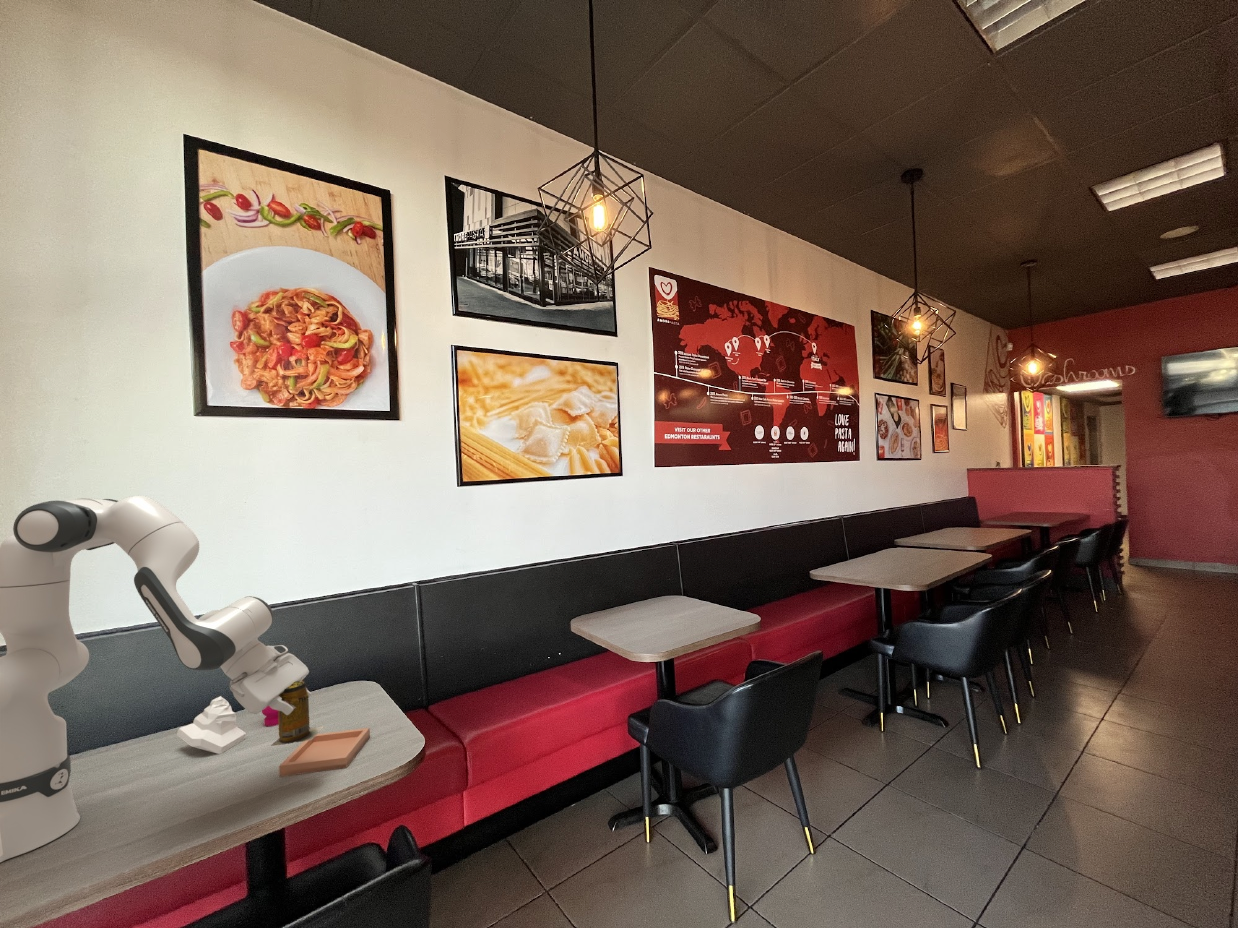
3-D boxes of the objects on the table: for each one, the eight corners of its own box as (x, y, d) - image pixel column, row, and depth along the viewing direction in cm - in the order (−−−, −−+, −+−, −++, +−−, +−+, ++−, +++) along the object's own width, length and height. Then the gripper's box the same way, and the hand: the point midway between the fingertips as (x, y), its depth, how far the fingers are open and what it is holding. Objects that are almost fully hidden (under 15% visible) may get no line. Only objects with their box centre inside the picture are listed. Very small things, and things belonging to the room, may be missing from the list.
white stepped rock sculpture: (227, 736, 149) (241, 685, 152) (246, 753, 140) (261, 699, 143) (173, 744, 139) (190, 690, 142) (191, 763, 130) (208, 705, 133)
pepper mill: (296, 715, 156) (293, 650, 157) (278, 726, 149) (275, 658, 150) (275, 716, 157) (272, 651, 158) (256, 727, 150) (253, 659, 151)
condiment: (286, 731, 121) (284, 680, 121) (324, 726, 122) (322, 676, 123) (270, 746, 113) (268, 693, 114) (311, 741, 115) (309, 688, 115)
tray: (279, 776, 122) (279, 765, 122) (310, 743, 137) (310, 734, 137) (346, 767, 124) (345, 757, 124) (369, 736, 139) (369, 727, 139)
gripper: (236, 671, 108) (286, 713, 108) (287, 642, 128) (329, 677, 129) (214, 695, 107) (264, 736, 108) (269, 662, 127) (311, 697, 128)
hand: (300, 704), depth 118 cm, fingers closed on condiment, 6 cm apart
